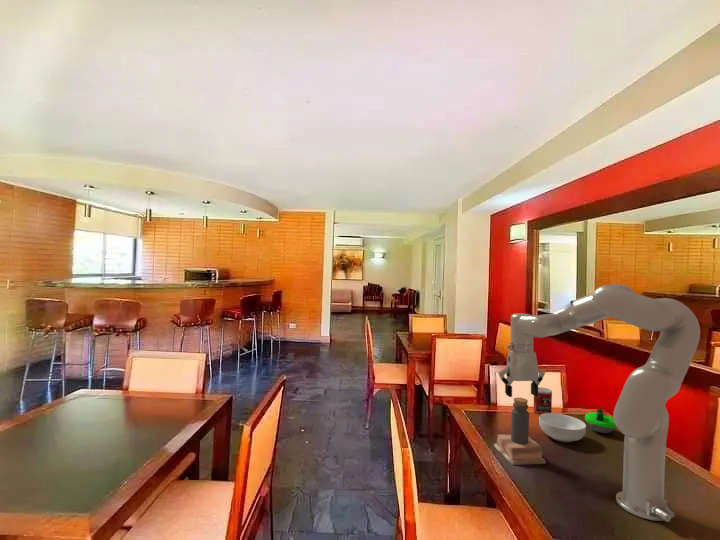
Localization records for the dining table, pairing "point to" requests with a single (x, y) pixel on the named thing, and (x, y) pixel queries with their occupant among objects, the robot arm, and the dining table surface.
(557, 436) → the cereal bowl
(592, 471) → the dining table surface
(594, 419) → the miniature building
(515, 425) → the bottle
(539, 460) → the pedestal
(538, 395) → the canned food
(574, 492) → the dining table surface
